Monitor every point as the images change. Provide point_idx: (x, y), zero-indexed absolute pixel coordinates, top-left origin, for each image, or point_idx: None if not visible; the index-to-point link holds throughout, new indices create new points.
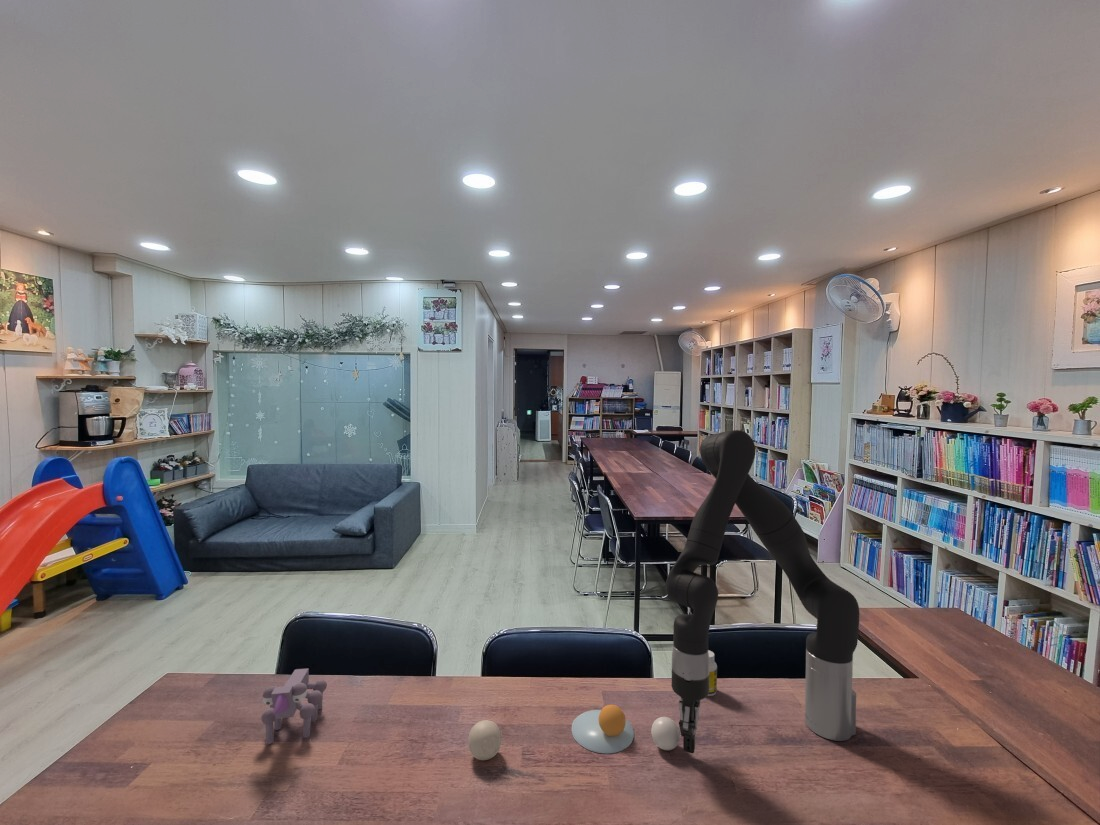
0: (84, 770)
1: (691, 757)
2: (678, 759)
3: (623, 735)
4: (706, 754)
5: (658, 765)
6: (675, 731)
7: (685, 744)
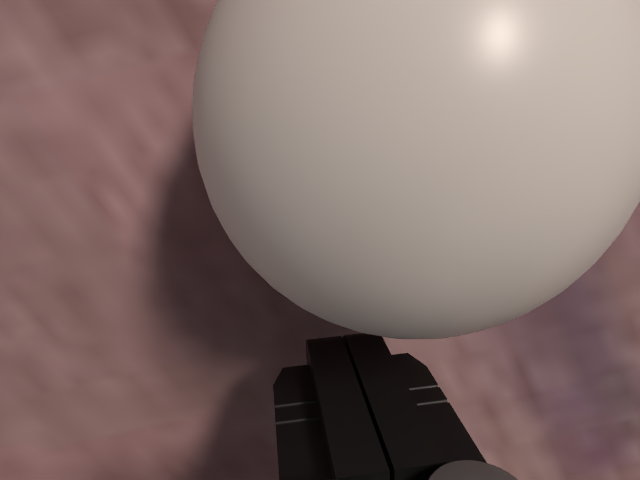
0: None
1: None
2: None
3: None
4: None
5: (61, 114)
6: (367, 330)
7: (277, 422)
